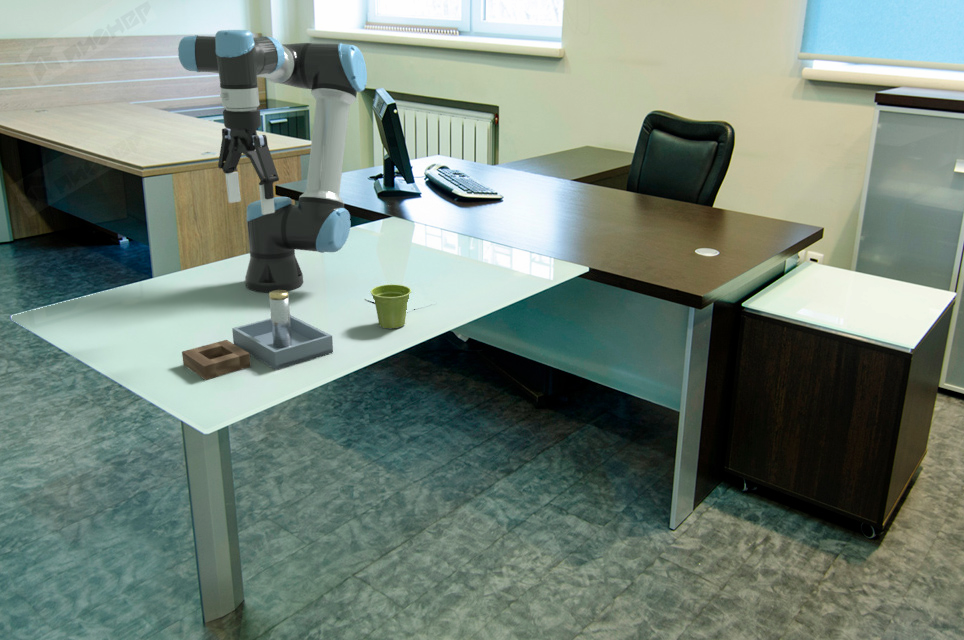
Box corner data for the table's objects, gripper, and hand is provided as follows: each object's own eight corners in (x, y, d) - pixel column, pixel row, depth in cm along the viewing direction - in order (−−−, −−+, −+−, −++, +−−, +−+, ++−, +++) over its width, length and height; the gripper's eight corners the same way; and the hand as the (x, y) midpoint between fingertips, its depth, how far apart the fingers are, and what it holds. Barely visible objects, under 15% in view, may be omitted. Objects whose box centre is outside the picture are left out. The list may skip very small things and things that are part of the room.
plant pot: (400, 334, 189) (400, 299, 186) (364, 328, 192) (363, 293, 189) (418, 321, 197) (417, 287, 194) (383, 316, 200) (382, 282, 197)
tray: (289, 329, 190) (288, 313, 189) (333, 352, 178) (332, 335, 177) (233, 345, 181) (232, 328, 180) (276, 370, 169) (274, 352, 168)
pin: (285, 339, 182) (282, 288, 178) (295, 344, 179) (291, 293, 175) (269, 344, 179) (265, 292, 175) (279, 349, 177) (275, 297, 172)
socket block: (227, 352, 177) (226, 339, 176) (250, 366, 170) (249, 353, 169) (183, 364, 171) (181, 351, 169) (205, 380, 164) (204, 366, 163)
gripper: (194, 103, 176) (206, 200, 184) (258, 117, 160) (267, 221, 169) (226, 100, 181) (236, 194, 190) (290, 113, 165) (298, 215, 174)
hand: (251, 207), depth 179 cm, fingers open, 13 cm apart
